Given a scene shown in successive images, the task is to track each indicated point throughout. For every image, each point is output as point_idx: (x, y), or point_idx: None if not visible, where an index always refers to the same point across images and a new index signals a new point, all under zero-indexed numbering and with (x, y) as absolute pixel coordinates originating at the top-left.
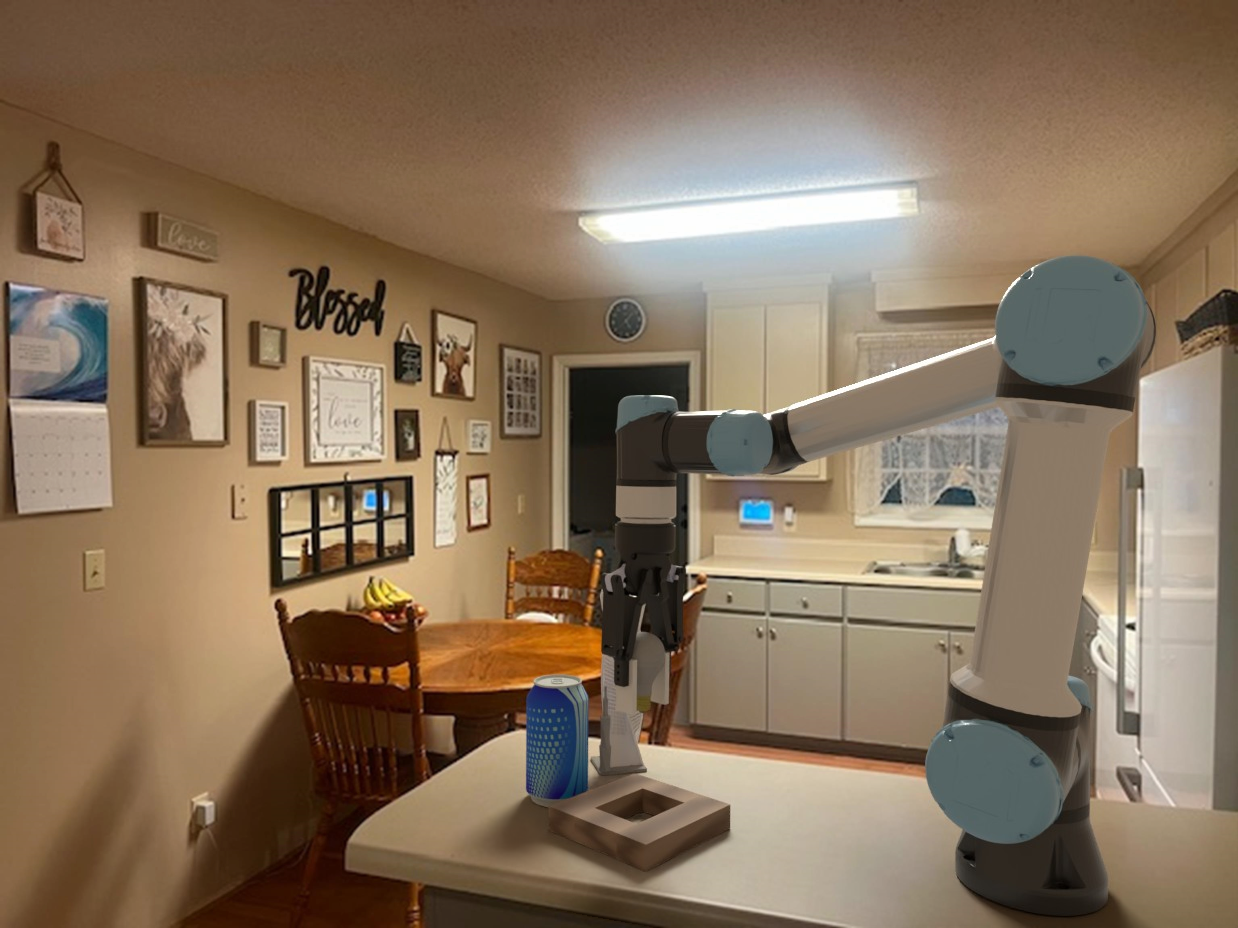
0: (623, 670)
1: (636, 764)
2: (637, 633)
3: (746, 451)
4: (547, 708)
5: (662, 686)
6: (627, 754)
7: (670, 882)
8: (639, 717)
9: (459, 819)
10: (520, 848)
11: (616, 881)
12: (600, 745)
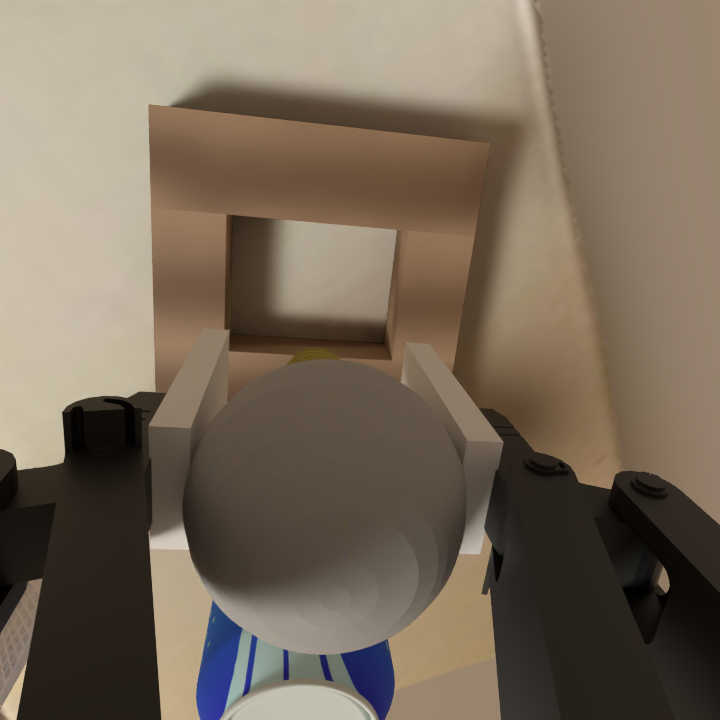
0: (522, 445)
1: None
2: (370, 617)
3: None
4: (385, 648)
5: (220, 369)
6: None
7: (484, 70)
8: None
9: (485, 553)
10: (520, 398)
11: (537, 168)
12: None
